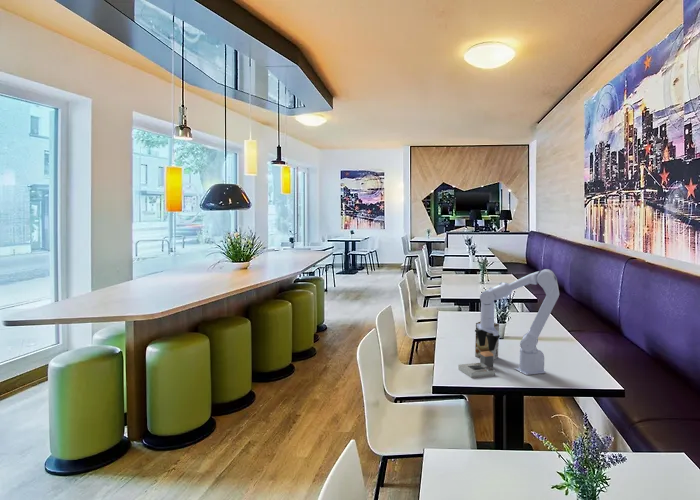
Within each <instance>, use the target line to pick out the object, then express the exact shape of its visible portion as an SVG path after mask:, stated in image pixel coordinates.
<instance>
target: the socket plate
mask: <svg viewBox="0 0 700 500" xmlns="http://www.w3.org/2000/svg"><path fill="white" fill-rule="evenodd" d="M458 370H459V371H460V372H461V373H463V374H465V375H467V376H468V377H469V378H471V379H473V378H481V377H482V378H483V377H491V376H496V369H493V367H488V366H487V365H485V364H483V363H480V362H474V363H473V362H472V363H465V364H458Z"/></svg>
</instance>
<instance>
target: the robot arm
mask: <svg viewBox="0 0 700 500" xmlns="http://www.w3.org/2000/svg"><path fill="white" fill-rule="evenodd" d="M530 284H531V285H535V286H536V285H538V284H539V286H540V287H541V288H542V289H543V291H544V294H545V297H544V299H543V301H542V302H541V303H542V304H541V305H540V307H539V309H538V312H537V314H536V315H535V317H534V320H533V321H532V324H531V325H530V328H529V330H528V331H527V333H525V334H524V335H523V336H522V339H521V340H520V342H519V347H520V348H519V367H515V368H514V370H516V371H518V372H520V373H522V374H523V375H526V376H529V375H537V374H538V375H539V374H545V373H546V371H545V355H544V352H543V351H542V350H541V349H538V348H537V346H538V343H539V337H540V335H541V332H542V331H543V329H544V328H545V324H547V321H548V319H549V317H550V315H551V313H552V311H553V308H554V307H555V305H556V304H557V301H558V299H559V296H560V290H559V284H558V277H557V276H556V275H555V273H554V271H553V270H552V269H548V268H544V269H542V270H538V271H535V272H532V273H529V274H527V275H525V276H522V277H520V278H518V279H516V280H514V281H512V282H510V283H509V282H502V281H501V282H499V283H498V284H497V285H495V286H489V287H488V289H485V290H484V291H482V292H481V293H480V295H479V300H480V321H481V324H477V328H478V330H476V329H474V332H475V335H476V334H477V336H478V340H479V344H480V346H485V340H486V337H487V339H488V347H489V351H494V349H495V345H496V342H497V340H498V339H500V334H499V335H498V331H497V330H496V329H495V328H494V323H495V301H499V300H501V299H504V298H506V297H508V296H510V295H512V292H513V291H514V290H517V289H520V288H523V287H525V286H528V285H530ZM487 332H488V333H490V334H488V335H487Z"/></svg>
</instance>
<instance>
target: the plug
mask: <svg viewBox="0 0 700 500" xmlns="http://www.w3.org/2000/svg"><path fill="white" fill-rule="evenodd" d="M479 363H483V364H485V365H487V366H488V367H490V368H494V360H493V353H491V352H489V351H484V352H480V357H479Z"/></svg>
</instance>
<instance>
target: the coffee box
mask: <svg viewBox="0 0 700 500" xmlns="http://www.w3.org/2000/svg"><path fill="white" fill-rule="evenodd" d="M477 324H481V320H480V321H478V322H476V323H475V330H478V328H477ZM494 328H495V329H496V330H497V331H498V335H500V324H499V323H495V322H494ZM488 334H490V333H488V332H487V335H488ZM499 339H500V338H499ZM499 339H498V340H497V342H496V345H495V349H494V351H489V347H488V339H487V337H486V340H485V346H480V344H479V340H478V336H477V334H476V333H475V346H474V348H475V349H474V350H475V351H474V356H475V357H477V358H480V352H484V351H489V352H491V353H493V361H495V360H496V359H497V358H499V345H500V344H499Z"/></svg>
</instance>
